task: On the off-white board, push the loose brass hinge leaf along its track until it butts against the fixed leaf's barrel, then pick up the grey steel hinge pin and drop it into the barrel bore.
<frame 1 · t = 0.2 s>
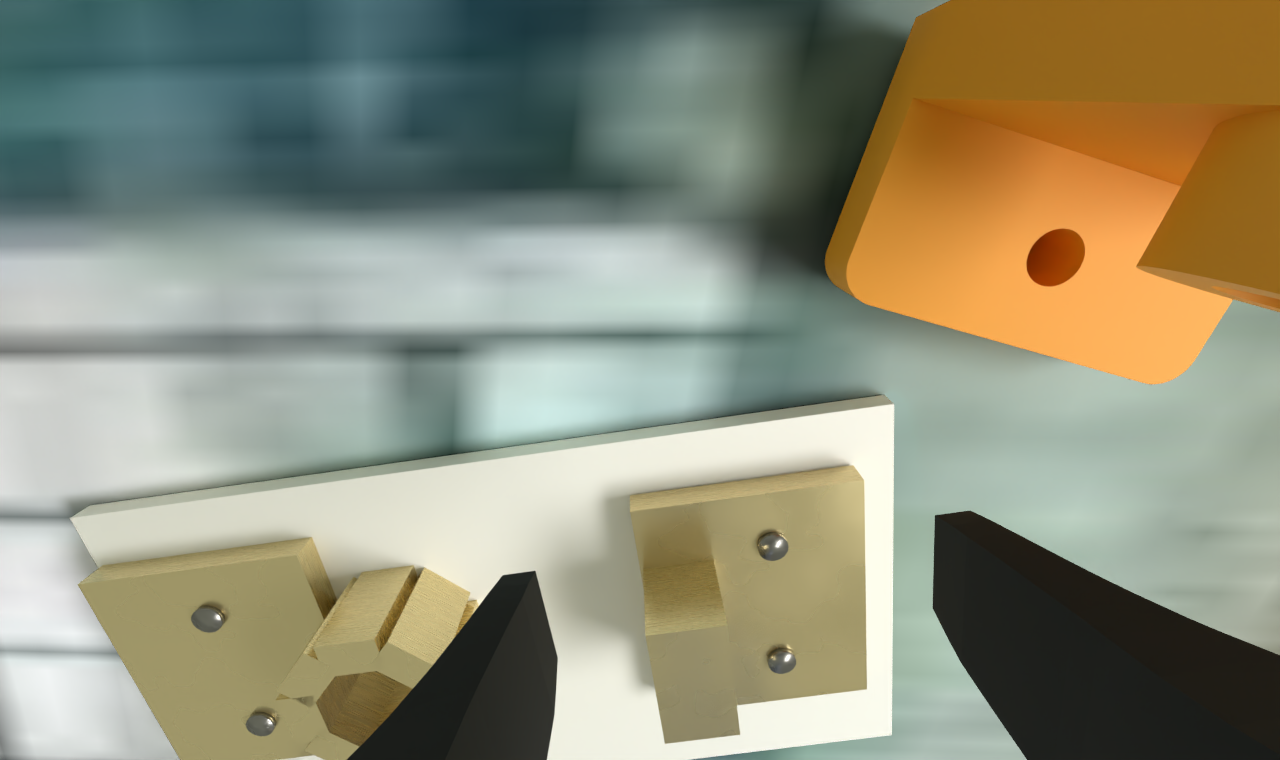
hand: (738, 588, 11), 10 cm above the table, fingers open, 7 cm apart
board: (523, 621, 23), on the table
bracket: (1009, 209, 18), on the table
fixed leaf: (409, 629, 22), resting on board
loose leaf: (762, 627, 20), point 3 cm above the table, slide at 6.0 cm
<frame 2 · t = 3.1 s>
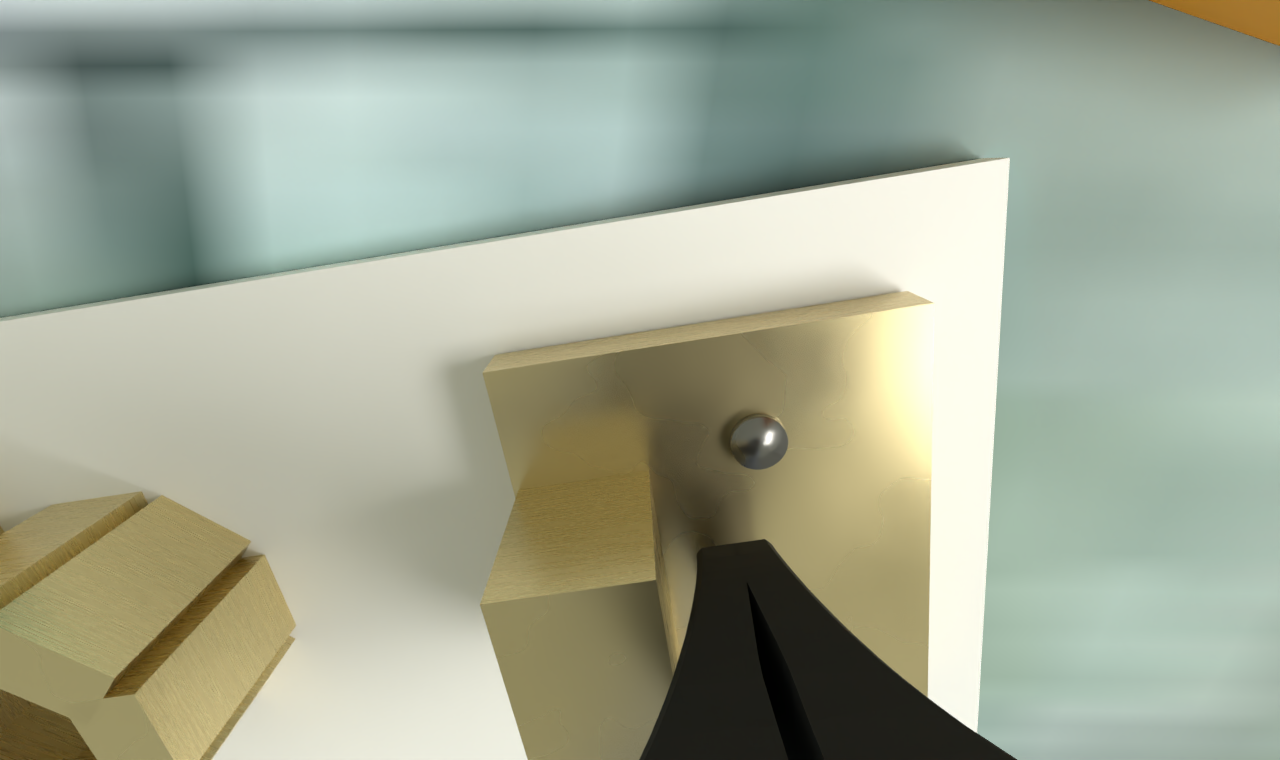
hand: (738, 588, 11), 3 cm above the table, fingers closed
board: (364, 594, 14), on the table
fixed leaf: (156, 608, 13), resting on board
loose leaf: (741, 596, 10), point 3 cm above the table, slide at 5.6 cm, touching gripper
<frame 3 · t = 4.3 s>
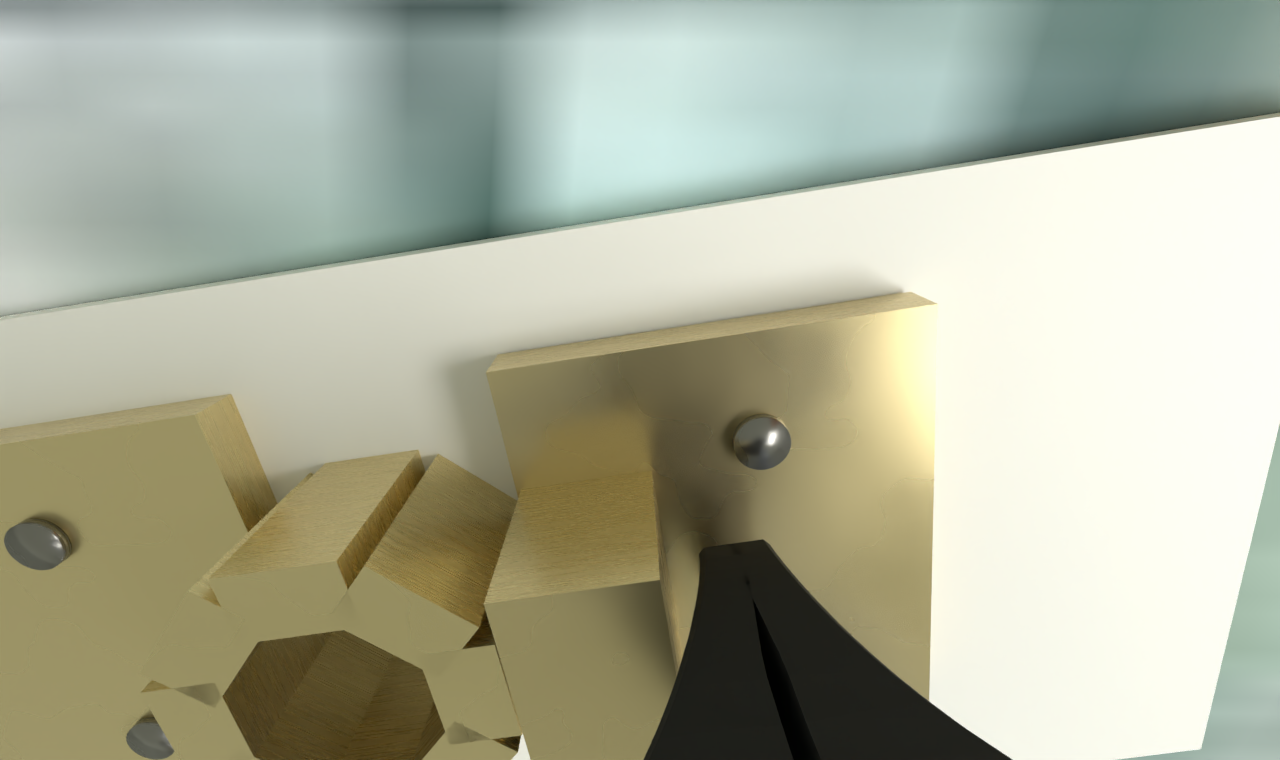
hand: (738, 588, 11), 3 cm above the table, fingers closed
board: (605, 561, 14), on the table
fixed leaf: (411, 571, 13), resting on board
loose leaf: (744, 596, 10), point 3 cm above the table, slide at 0.0 cm, touching gripper
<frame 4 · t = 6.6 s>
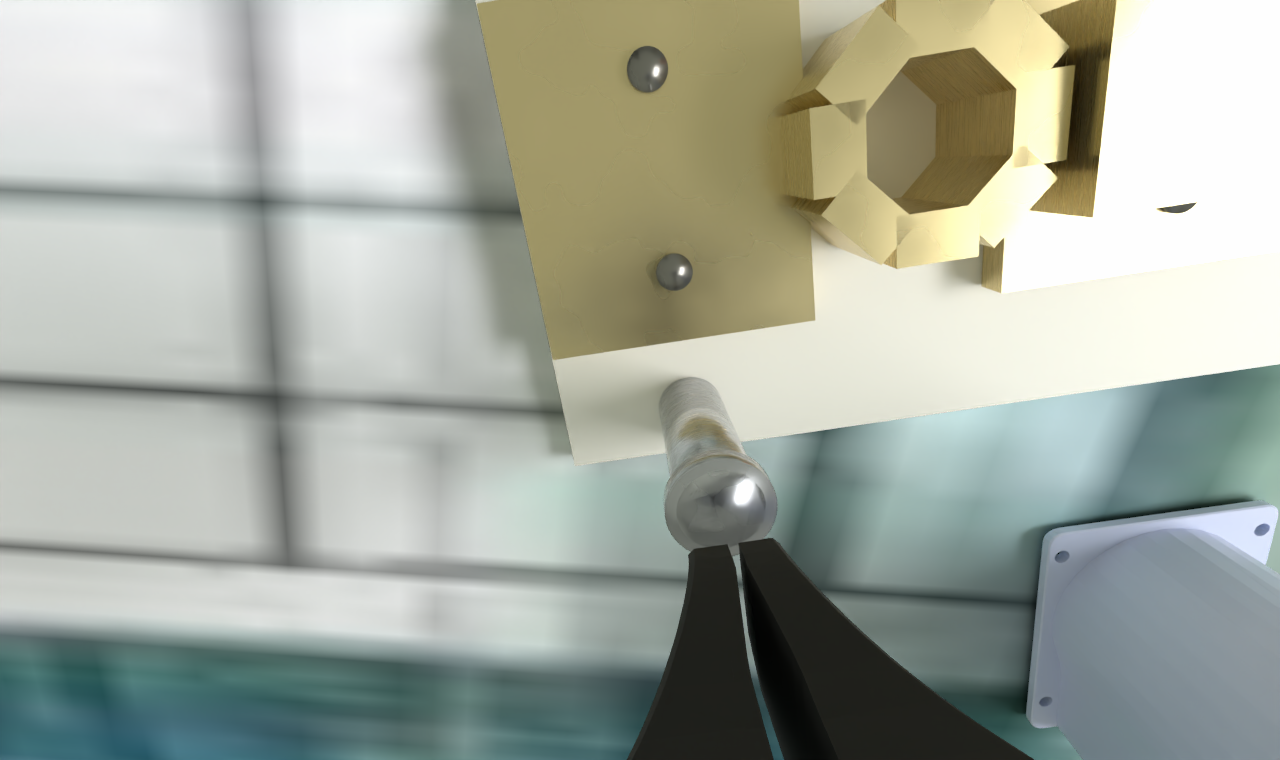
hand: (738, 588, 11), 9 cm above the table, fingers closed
board: (1005, 156, 17), on the table
fixed leaf: (876, 140, 16), resting on board
pin: (690, 406, 19), point 1 cm above the table, touching board
loose leaf: (1200, 90, 14), point 3 cm above the table, slide at 0.0 cm
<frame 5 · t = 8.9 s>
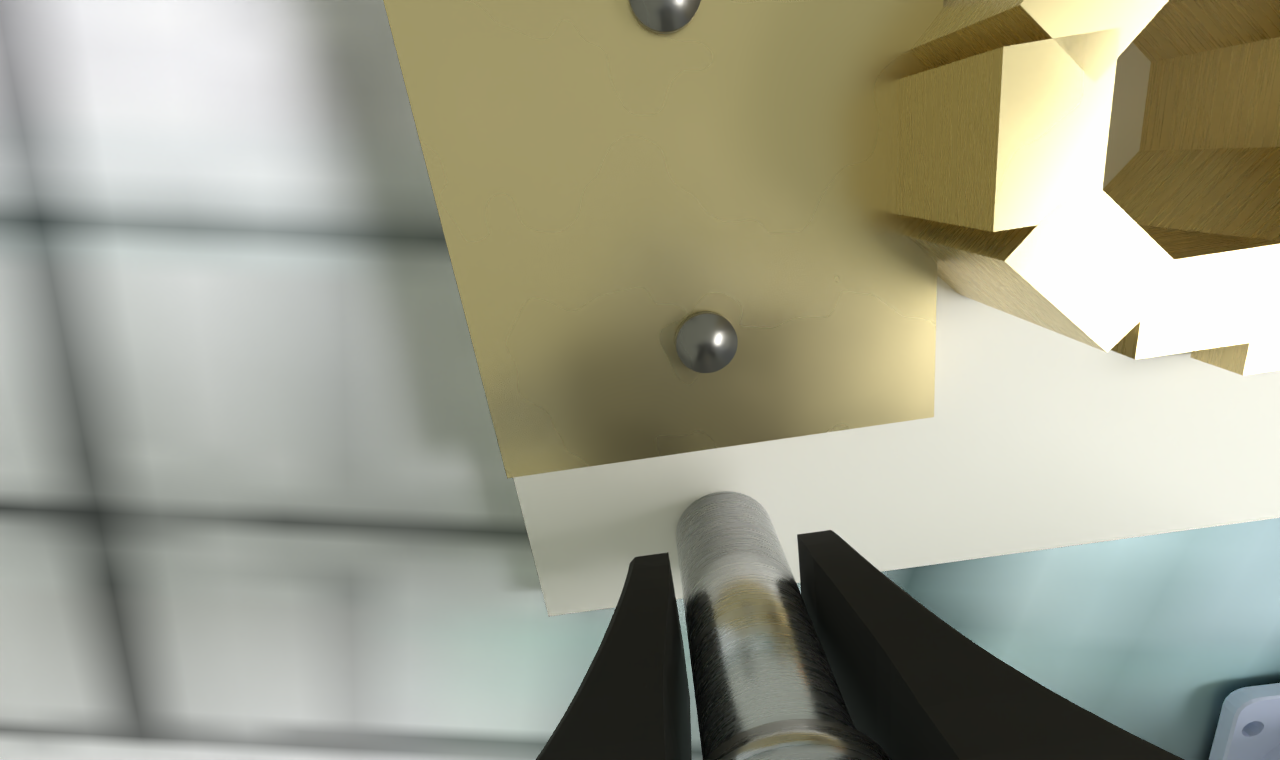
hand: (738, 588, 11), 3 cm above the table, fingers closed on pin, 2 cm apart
board: (1236, 150, 11), on the table
fixed leaf: (1045, 123, 10), resting on board
pin: (723, 534, 12), point 1 cm above the table, touching board, gripper
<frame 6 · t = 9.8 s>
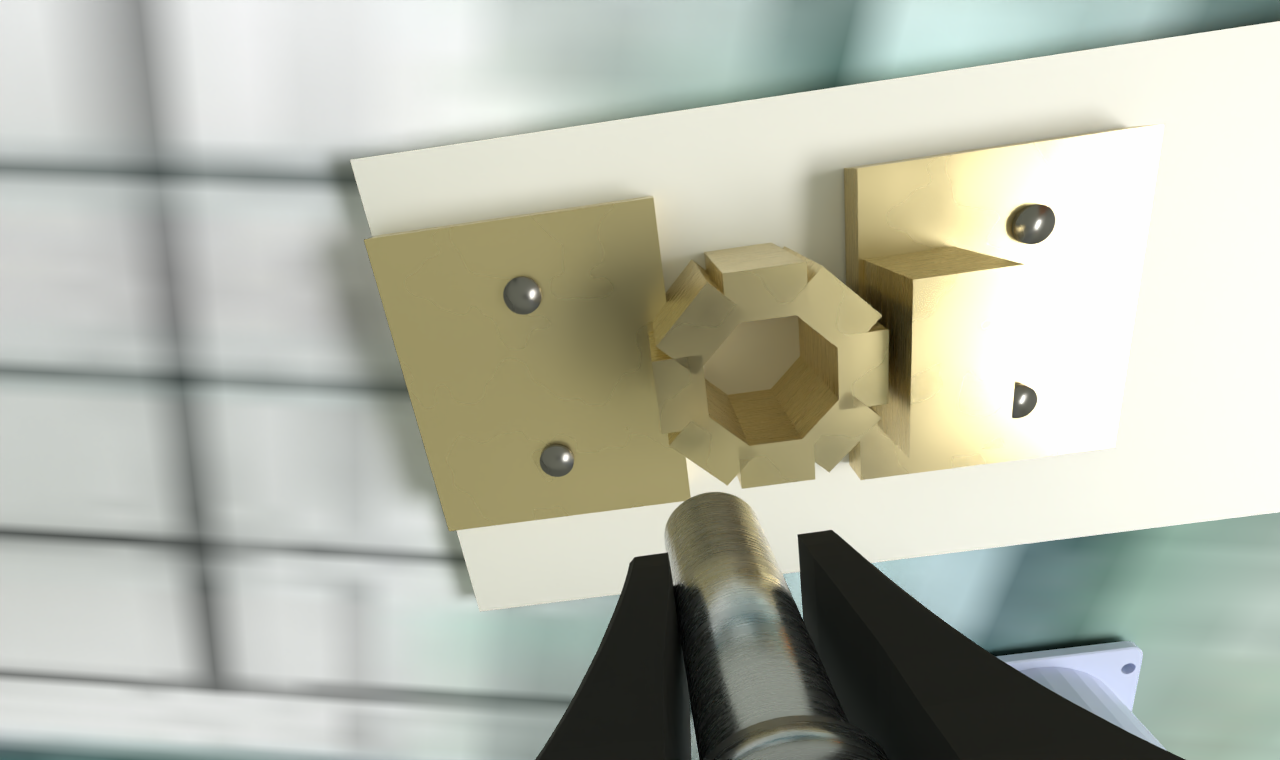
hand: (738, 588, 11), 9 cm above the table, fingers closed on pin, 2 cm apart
board: (870, 348, 19), on the table
fixed leaf: (745, 342, 18), resting on board
pin: (712, 534, 12), point 7 cm above the table, touching gripper
loose leaf: (1019, 329, 15), point 3 cm above the table, slide at 0.0 cm
when the fingers open (5 cm above the table, at t = 11.2 s): pin drops 2 cm, resting on board.
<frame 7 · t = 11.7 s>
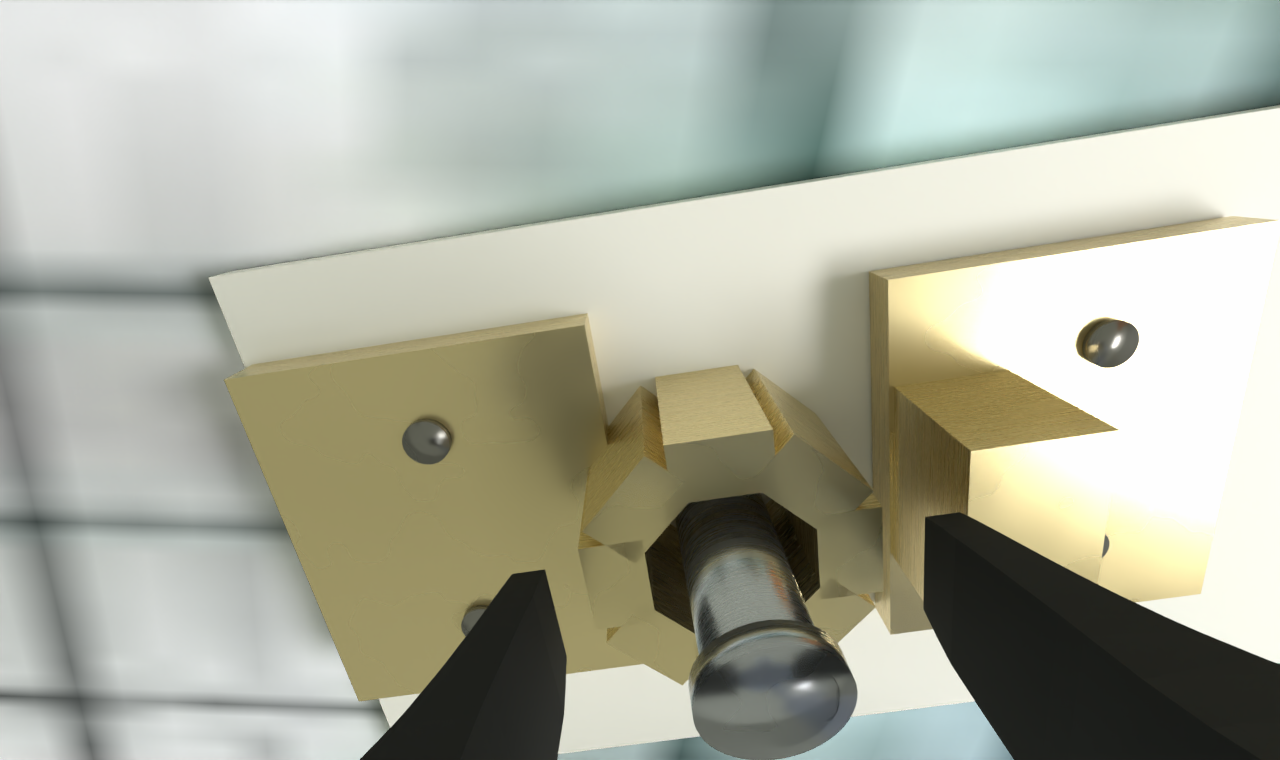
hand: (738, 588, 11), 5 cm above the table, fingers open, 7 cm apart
board: (862, 474, 15), on the table
fixed leaf: (709, 478, 14), resting on board
pin: (710, 479, 14), point 1 cm above the table, tilted 5°, touching board
loose leaf: (1094, 476, 12), point 3 cm above the table, slide at 0.9 cm, touching gripper
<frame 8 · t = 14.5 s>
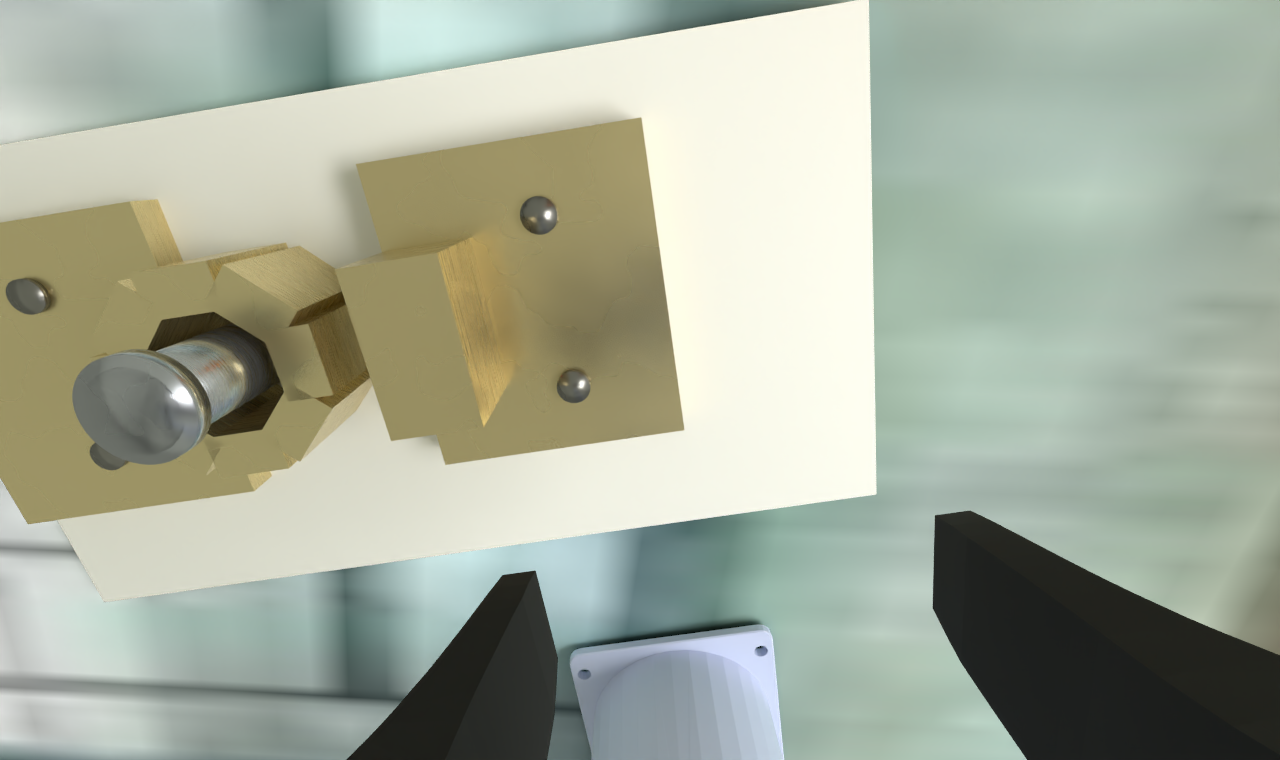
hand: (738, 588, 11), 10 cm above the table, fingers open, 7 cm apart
board: (431, 342, 19), on the table
fixed leaf: (288, 338, 18), resting on board
pin: (287, 338, 18), point 1 cm above the table, touching board
loose leaf: (528, 316, 16), point 3 cm above the table, slide at 1.1 cm
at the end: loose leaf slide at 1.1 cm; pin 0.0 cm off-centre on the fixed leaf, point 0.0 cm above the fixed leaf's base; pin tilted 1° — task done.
